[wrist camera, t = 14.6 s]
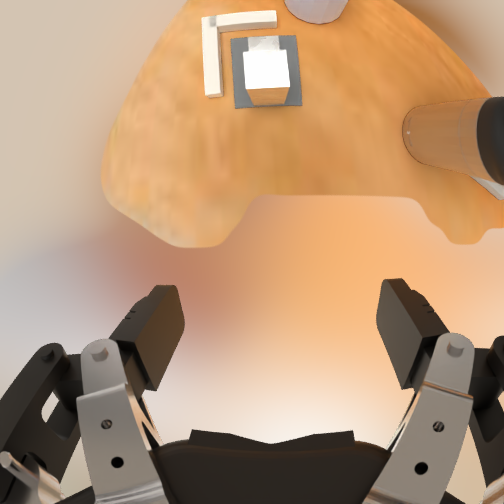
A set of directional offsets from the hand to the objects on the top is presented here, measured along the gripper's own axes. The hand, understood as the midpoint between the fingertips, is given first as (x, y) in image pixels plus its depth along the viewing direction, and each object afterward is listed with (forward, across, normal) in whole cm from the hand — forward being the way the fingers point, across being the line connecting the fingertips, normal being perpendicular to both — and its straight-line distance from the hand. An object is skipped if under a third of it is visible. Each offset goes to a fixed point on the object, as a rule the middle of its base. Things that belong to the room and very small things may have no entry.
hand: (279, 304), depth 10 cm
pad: (+30, +1, -16) cm, 34 cm away
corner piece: (+30, +4, -19) cm, 35 cm away
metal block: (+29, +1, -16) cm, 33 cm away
